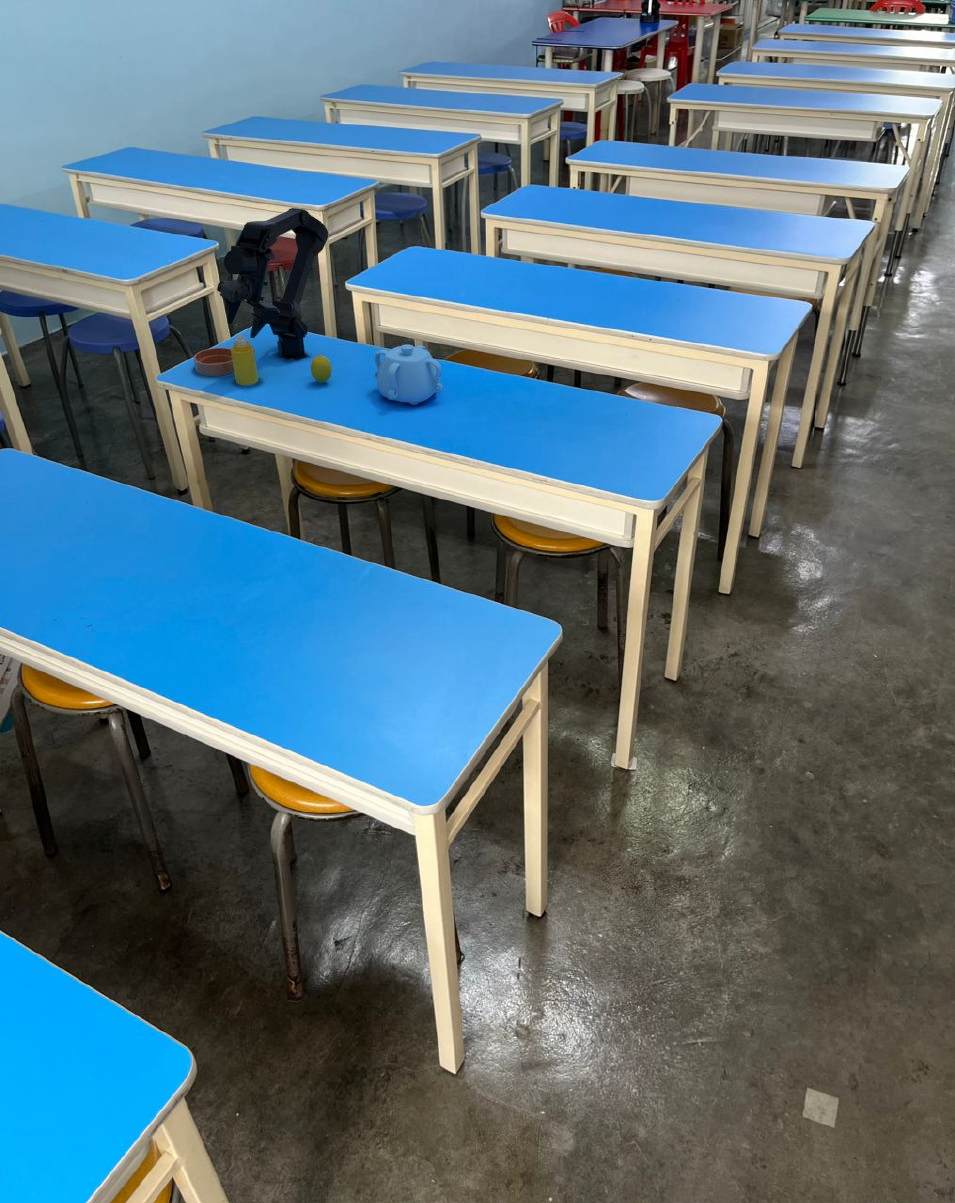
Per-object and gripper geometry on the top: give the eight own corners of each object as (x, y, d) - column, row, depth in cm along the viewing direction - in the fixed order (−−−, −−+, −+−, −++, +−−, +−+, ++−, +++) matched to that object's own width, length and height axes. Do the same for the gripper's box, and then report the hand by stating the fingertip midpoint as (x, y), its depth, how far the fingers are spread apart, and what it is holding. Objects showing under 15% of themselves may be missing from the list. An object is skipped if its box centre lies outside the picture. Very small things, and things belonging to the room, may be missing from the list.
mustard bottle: (253, 376, 258) (246, 329, 250) (262, 383, 254) (255, 336, 246) (232, 381, 255) (225, 334, 247) (241, 388, 251) (234, 341, 243)
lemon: (329, 388, 251) (326, 359, 247) (309, 386, 252) (306, 358, 248) (335, 380, 256) (333, 351, 251) (316, 378, 257) (313, 350, 252)
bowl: (229, 358, 268) (227, 344, 265) (247, 372, 260) (245, 358, 257) (189, 367, 262) (187, 353, 260) (206, 382, 254) (203, 368, 252)
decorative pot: (433, 381, 256) (432, 332, 248) (445, 405, 243) (444, 355, 235) (374, 386, 253) (371, 337, 245) (383, 411, 240) (380, 360, 232)
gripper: (207, 257, 243) (194, 315, 250) (255, 285, 235) (240, 344, 242) (240, 261, 252) (226, 317, 259) (287, 288, 244) (272, 345, 251)
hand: (240, 330), depth 252 cm, fingers open, 9 cm apart
